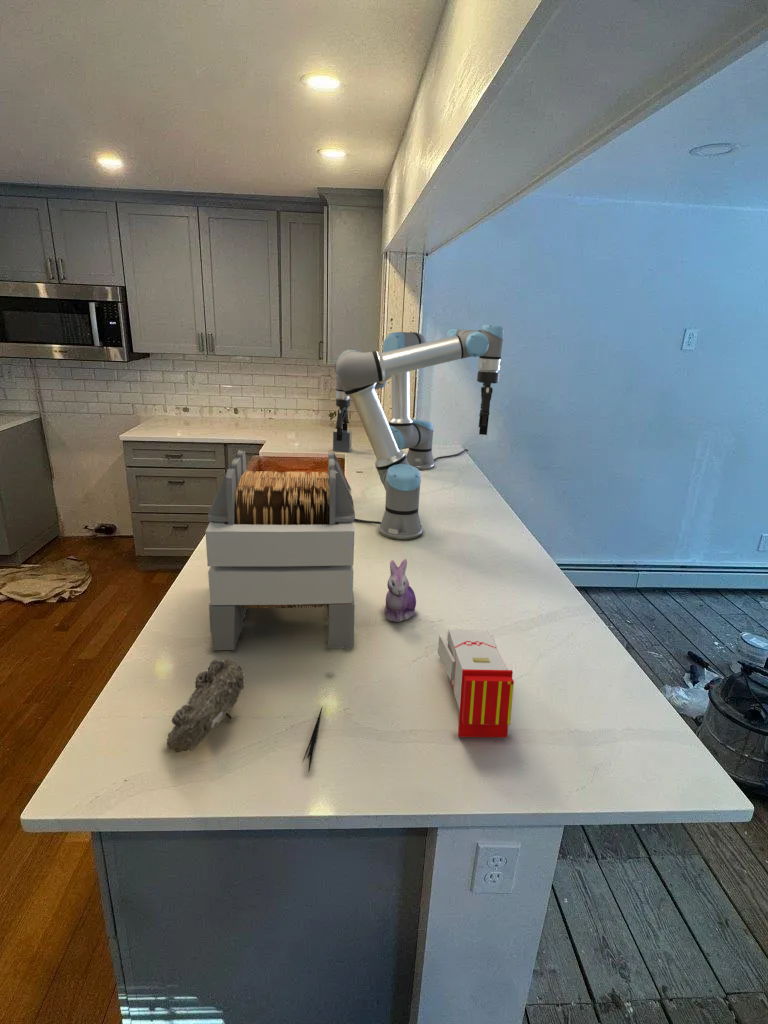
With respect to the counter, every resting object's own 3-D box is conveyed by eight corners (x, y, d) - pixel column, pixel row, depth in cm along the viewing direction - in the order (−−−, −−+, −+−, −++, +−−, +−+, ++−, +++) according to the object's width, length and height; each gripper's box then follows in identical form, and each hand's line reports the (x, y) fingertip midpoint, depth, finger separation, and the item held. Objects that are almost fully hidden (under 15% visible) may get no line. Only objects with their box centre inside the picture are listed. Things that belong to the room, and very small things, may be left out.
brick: (349, 452, 309) (349, 432, 305) (332, 450, 310) (333, 431, 306) (351, 449, 314) (351, 430, 310) (335, 448, 315) (335, 429, 311)
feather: (331, 679, 122) (336, 673, 122) (307, 777, 96) (313, 769, 95) (324, 675, 122) (329, 669, 121) (298, 772, 95) (304, 764, 95)
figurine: (392, 627, 141) (395, 572, 136) (374, 608, 149) (376, 556, 144) (425, 619, 145) (429, 566, 140) (405, 601, 154) (408, 550, 149)
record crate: (231, 583, 159) (223, 441, 145) (347, 582, 163) (350, 443, 149) (209, 653, 127) (196, 479, 114) (354, 649, 131) (359, 481, 117)
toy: (488, 613, 130) (523, 677, 101) (484, 667, 133) (517, 744, 104) (435, 612, 130) (455, 676, 101) (432, 666, 133) (451, 743, 103)
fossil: (192, 660, 117) (244, 628, 112) (224, 691, 120) (276, 661, 115) (142, 746, 98) (202, 712, 93) (182, 779, 101) (242, 748, 96)
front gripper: (501, 375, 187) (494, 438, 194) (498, 368, 210) (491, 425, 217) (478, 374, 188) (472, 437, 195) (477, 367, 211) (472, 423, 218)
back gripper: (345, 403, 290) (343, 443, 298) (354, 395, 313) (353, 433, 321) (330, 402, 291) (329, 442, 299) (341, 394, 314) (340, 432, 322)
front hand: (482, 430), depth 206 cm, fingers open, 13 cm apart
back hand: (342, 437), depth 310 cm, fingers open, 13 cm apart
